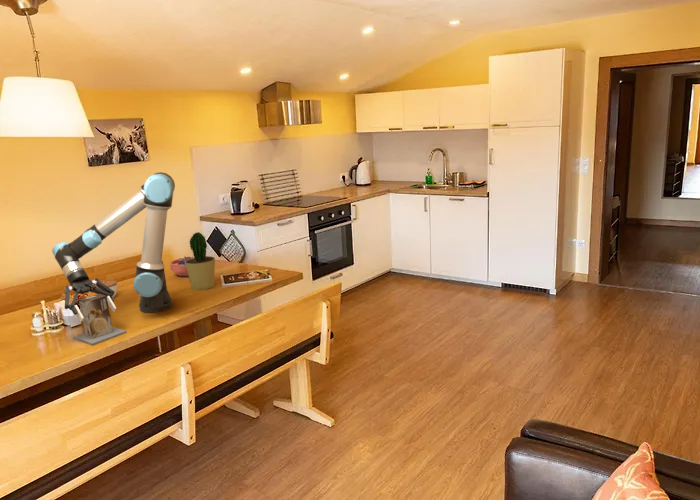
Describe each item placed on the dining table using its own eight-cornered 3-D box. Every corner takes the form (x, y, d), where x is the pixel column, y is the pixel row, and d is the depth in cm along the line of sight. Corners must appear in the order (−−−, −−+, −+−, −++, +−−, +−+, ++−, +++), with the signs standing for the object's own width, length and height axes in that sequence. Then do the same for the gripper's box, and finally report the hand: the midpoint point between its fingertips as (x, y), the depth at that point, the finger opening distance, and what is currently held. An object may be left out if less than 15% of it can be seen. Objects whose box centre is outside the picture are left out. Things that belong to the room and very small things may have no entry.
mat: (106, 326, 238) (106, 324, 238) (126, 332, 229) (126, 330, 229) (73, 338, 226) (72, 336, 226) (92, 345, 217) (92, 343, 217)
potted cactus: (201, 281, 299) (195, 227, 292) (224, 283, 292) (217, 228, 285) (181, 289, 285) (174, 233, 278) (204, 292, 279) (197, 235, 272)
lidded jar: (105, 294, 285) (102, 277, 283) (123, 294, 283) (120, 277, 281) (91, 301, 275) (88, 283, 273) (110, 301, 273) (107, 283, 270)
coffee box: (106, 328, 233) (100, 293, 229) (113, 332, 228) (107, 295, 225) (84, 335, 226) (78, 299, 222) (91, 339, 222) (84, 301, 218)
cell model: (192, 269, 326) (190, 250, 323) (209, 274, 312) (206, 255, 309) (165, 275, 315) (163, 256, 312) (181, 281, 301) (178, 262, 298)
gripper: (102, 272, 241) (125, 310, 235) (43, 287, 223) (65, 329, 217) (106, 262, 237) (129, 301, 231) (46, 276, 218) (69, 319, 212)
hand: (98, 314), depth 224 cm, fingers open, 13 cm apart
